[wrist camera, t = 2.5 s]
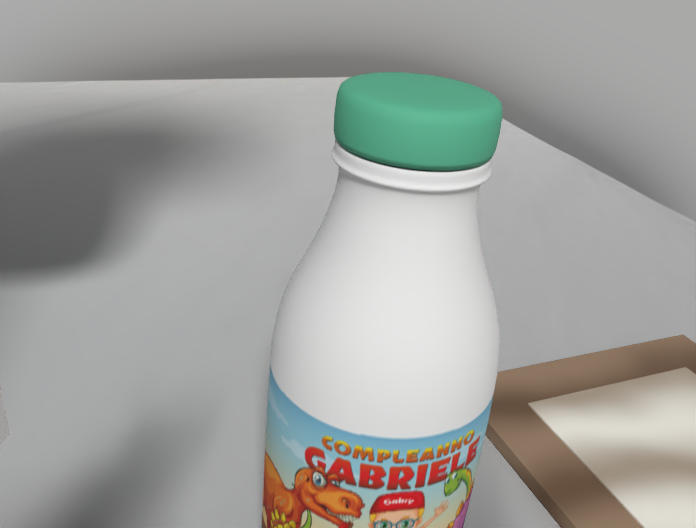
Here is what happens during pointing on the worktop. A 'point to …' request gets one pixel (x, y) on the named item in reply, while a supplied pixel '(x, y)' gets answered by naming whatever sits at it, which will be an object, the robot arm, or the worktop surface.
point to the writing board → (605, 434)
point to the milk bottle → (388, 318)
